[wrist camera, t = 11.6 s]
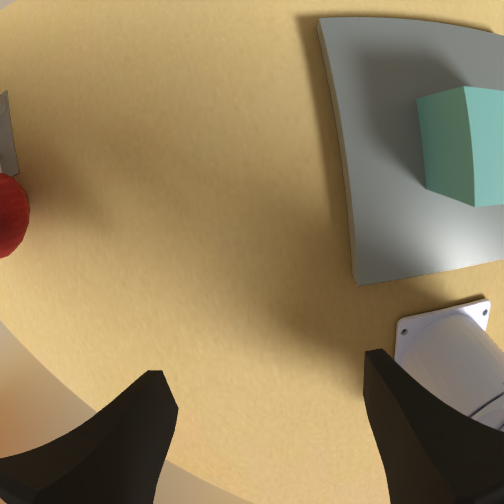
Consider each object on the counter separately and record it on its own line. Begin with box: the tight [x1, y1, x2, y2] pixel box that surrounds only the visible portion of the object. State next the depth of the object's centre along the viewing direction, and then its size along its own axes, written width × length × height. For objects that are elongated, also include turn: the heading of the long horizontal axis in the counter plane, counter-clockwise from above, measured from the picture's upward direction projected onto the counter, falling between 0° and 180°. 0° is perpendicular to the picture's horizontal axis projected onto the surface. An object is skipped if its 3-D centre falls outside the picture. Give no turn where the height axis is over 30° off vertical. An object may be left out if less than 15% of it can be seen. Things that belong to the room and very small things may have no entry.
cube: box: [416, 86, 504, 207], centre depth 12 cm, size 5×5×5 cm
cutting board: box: [316, 17, 504, 286], centre depth 15 cm, size 15×14×2 cm
